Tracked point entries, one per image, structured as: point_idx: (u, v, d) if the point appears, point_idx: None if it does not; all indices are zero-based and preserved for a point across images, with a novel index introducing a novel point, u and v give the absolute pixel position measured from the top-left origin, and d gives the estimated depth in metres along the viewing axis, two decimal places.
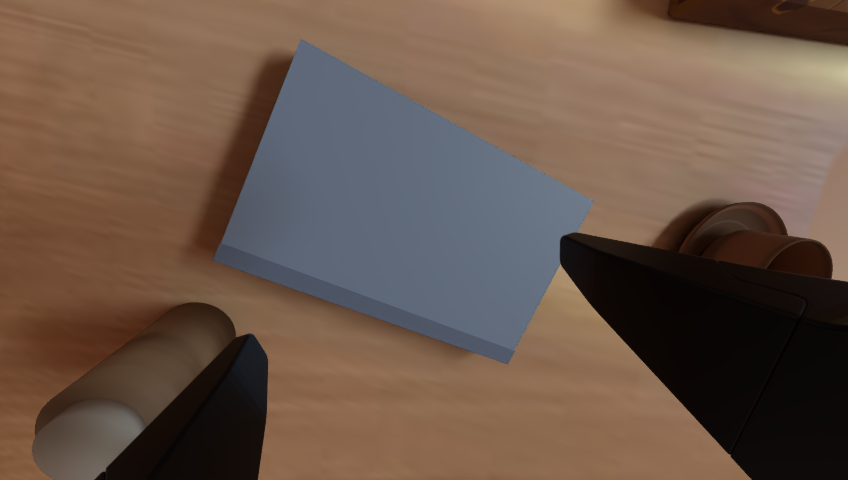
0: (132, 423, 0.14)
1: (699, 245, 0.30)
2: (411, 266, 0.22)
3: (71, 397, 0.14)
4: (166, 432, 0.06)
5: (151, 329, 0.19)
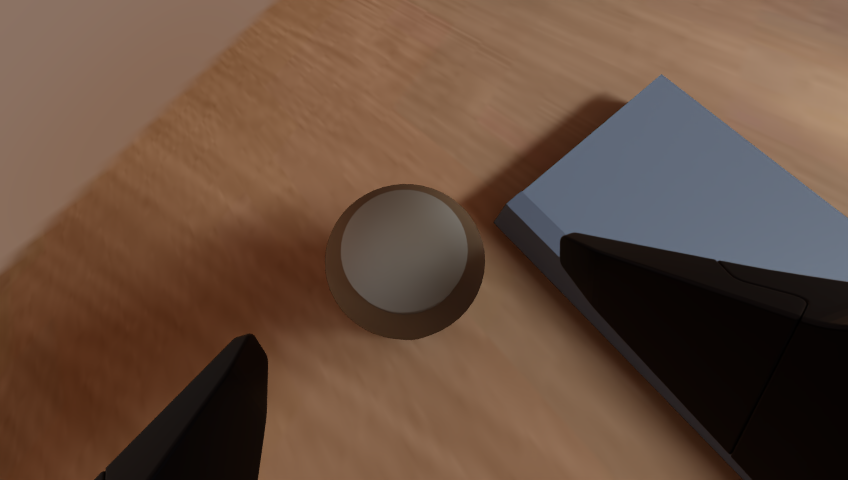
0: None
1: None
2: None
3: None
4: (166, 432, 0.06)
5: None
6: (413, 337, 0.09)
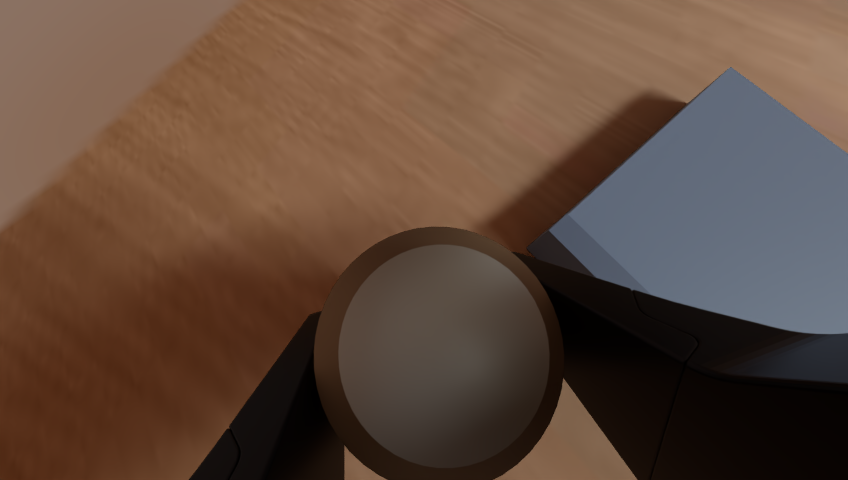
0: None
1: None
2: None
3: (443, 242, 0.07)
4: (278, 394, 0.06)
5: None
6: None
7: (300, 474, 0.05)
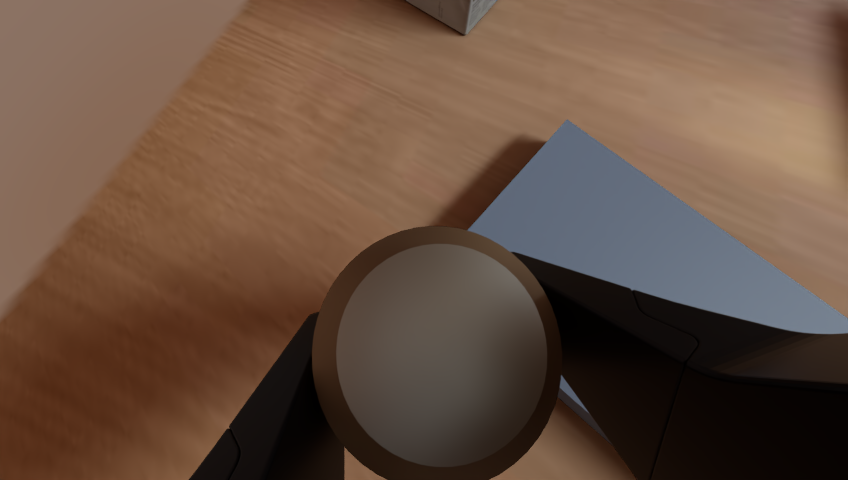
0: None
1: None
2: None
3: (441, 242, 0.07)
4: (278, 394, 0.06)
5: None
6: None
7: (300, 474, 0.05)
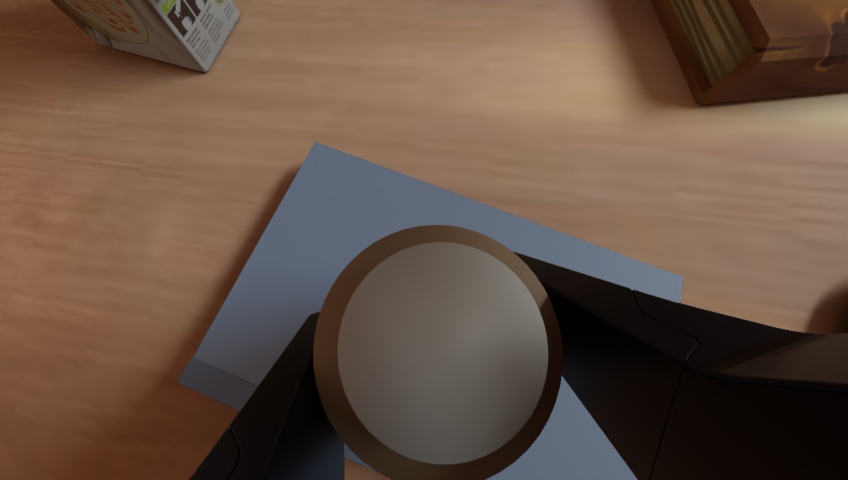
0: None
1: None
2: None
3: (442, 240, 0.07)
4: (278, 394, 0.06)
5: None
6: None
7: (300, 474, 0.05)
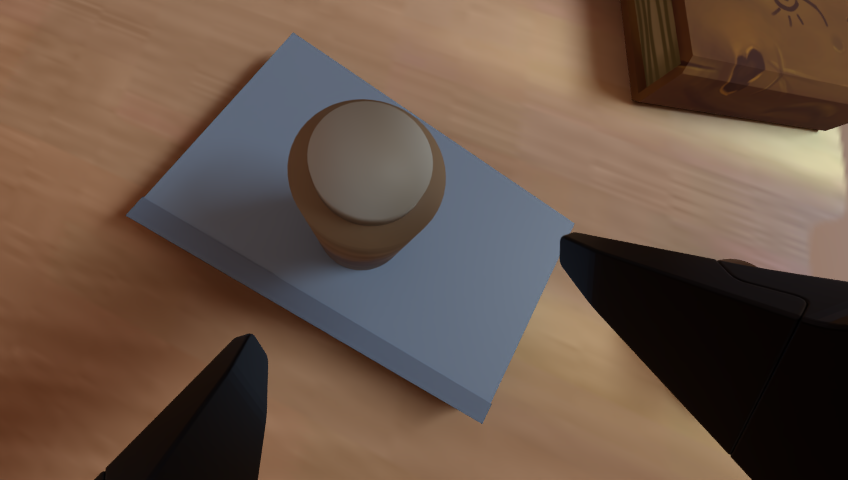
0: None
1: None
2: None
3: None
4: (166, 432, 0.06)
5: None
6: (363, 247, 0.10)
7: None
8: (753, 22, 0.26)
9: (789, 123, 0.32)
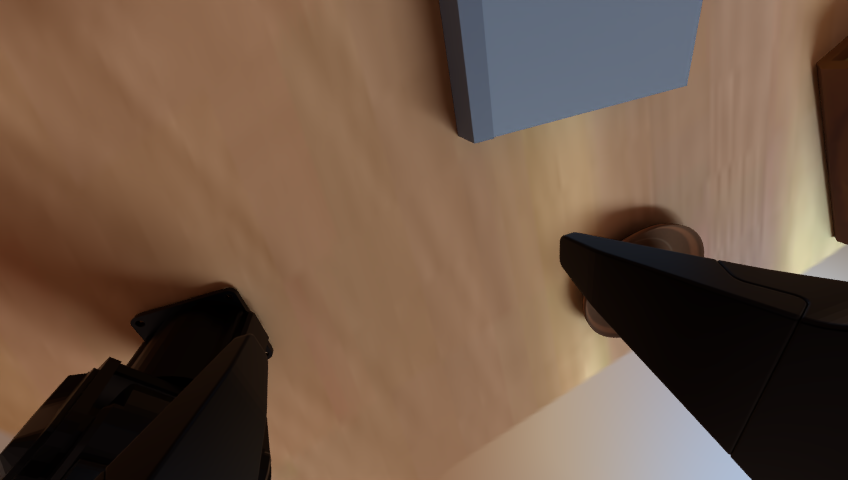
0: None
1: None
2: None
3: None
4: (166, 432, 0.06)
5: None
6: None
7: None
8: None
9: (837, 211, 0.33)
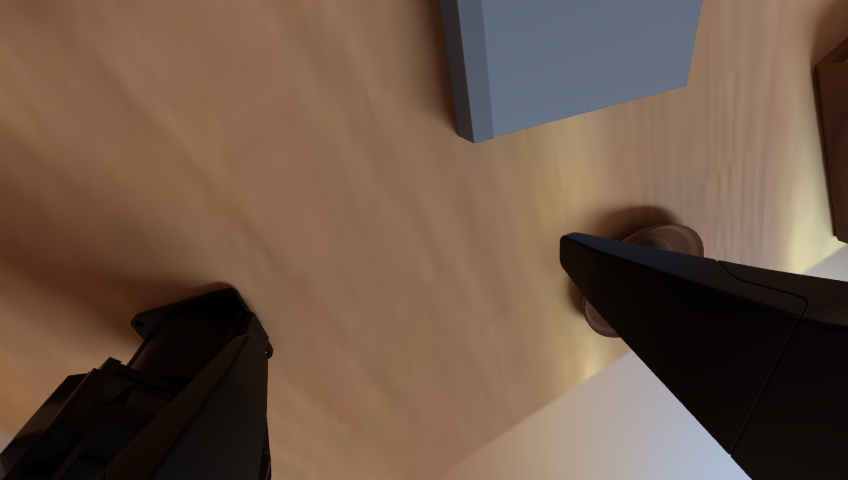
0: None
1: None
2: None
3: None
4: (166, 432, 0.06)
5: None
6: None
7: None
8: None
9: (838, 211, 0.33)
